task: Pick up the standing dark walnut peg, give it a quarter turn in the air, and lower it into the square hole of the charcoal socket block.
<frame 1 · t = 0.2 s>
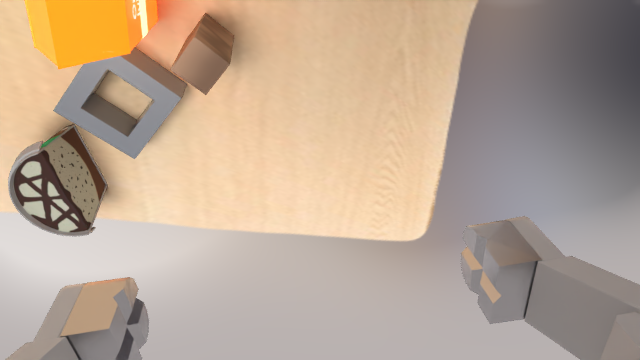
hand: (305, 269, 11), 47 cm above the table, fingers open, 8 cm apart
socket: (128, 89, 55), on the table
peg: (210, 37, 53), on the table
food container: (69, 160, 59), on the table
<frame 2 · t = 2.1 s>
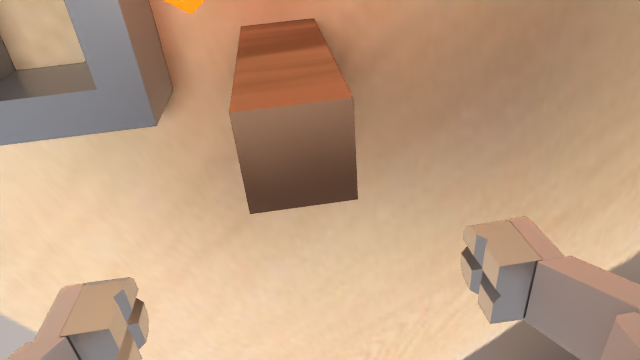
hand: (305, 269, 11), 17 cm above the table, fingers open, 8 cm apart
socket: (48, 8, 23), on the table
peg: (282, 58, 25), on the table
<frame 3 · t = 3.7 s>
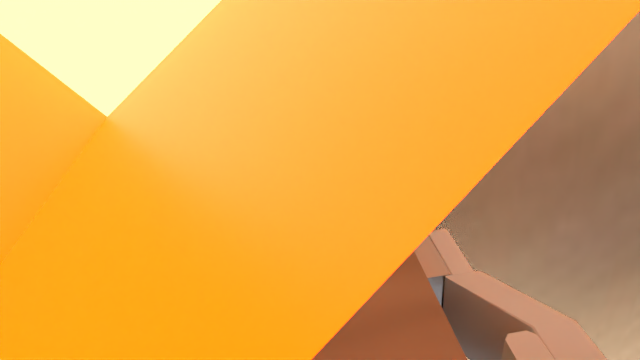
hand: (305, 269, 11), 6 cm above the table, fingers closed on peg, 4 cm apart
peg: (289, 162, 16), on the table, touching gripper
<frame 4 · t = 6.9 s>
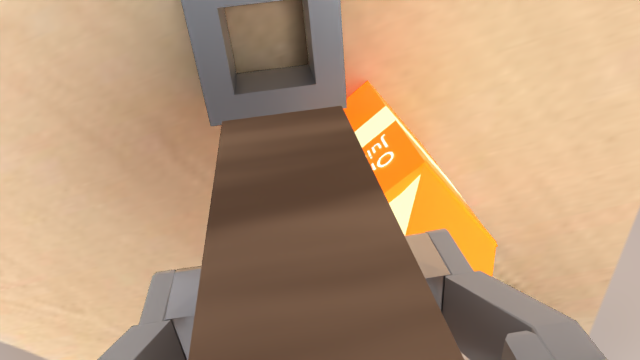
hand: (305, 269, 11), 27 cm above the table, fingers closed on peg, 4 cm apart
orange juice: (363, 141, 40), on the table
socket: (267, 31, 34), on the table
peg: (289, 165, 16), point 21 cm above the table, touching gripper
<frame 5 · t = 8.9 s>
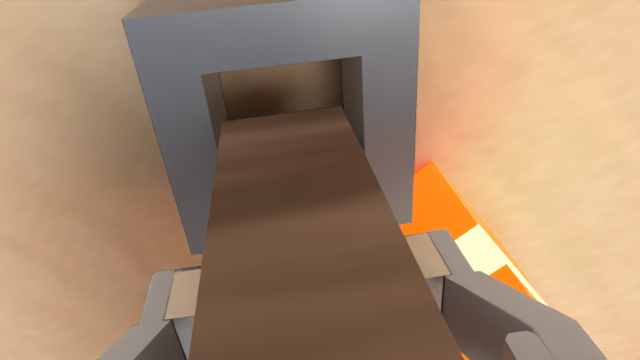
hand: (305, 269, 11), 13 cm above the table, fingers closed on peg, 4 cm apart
orange juice: (418, 241, 28), on the table
socket: (284, 94, 22), on the table
peg: (289, 165, 16), point 7 cm above the table, touching gripper
when the fingers open (7 cm above the table, at t = 10.3 s): peg drops 1 cm, resting in socket.
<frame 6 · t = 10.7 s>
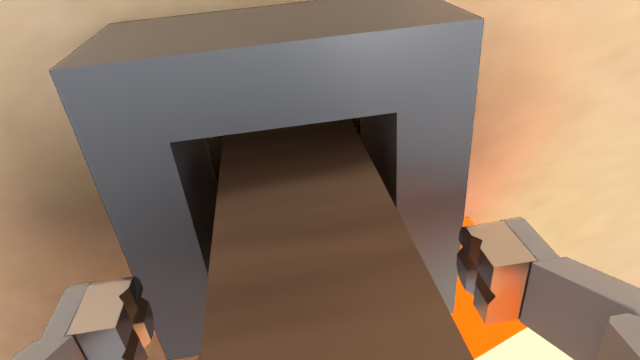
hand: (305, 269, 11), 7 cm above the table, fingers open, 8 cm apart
orange juice: (447, 304, 23), on the table
socket: (286, 143, 17), on the table
peg: (288, 147, 17), resting in socket
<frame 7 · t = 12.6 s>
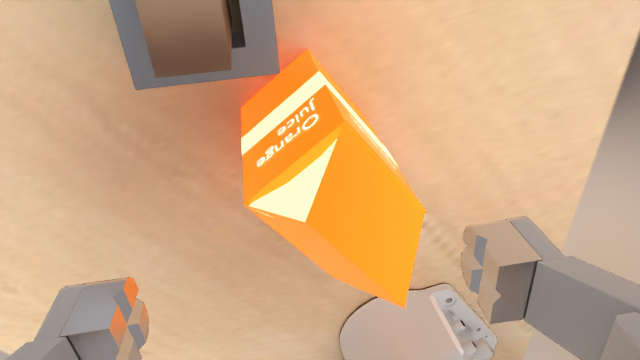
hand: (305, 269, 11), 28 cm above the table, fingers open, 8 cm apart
orange juice: (306, 113, 39), on the table
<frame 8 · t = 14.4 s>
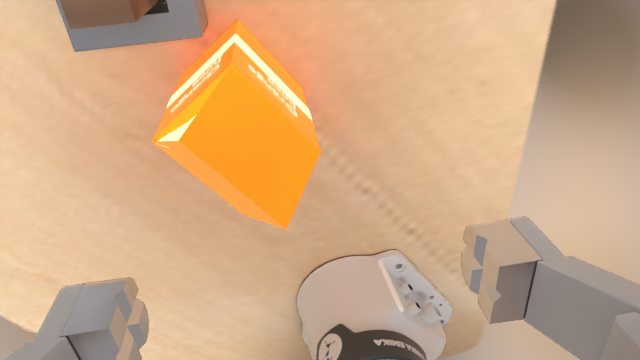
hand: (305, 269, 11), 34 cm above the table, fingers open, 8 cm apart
orange juice: (243, 80, 43), on the table
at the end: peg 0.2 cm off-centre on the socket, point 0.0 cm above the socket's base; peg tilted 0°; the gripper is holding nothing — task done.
